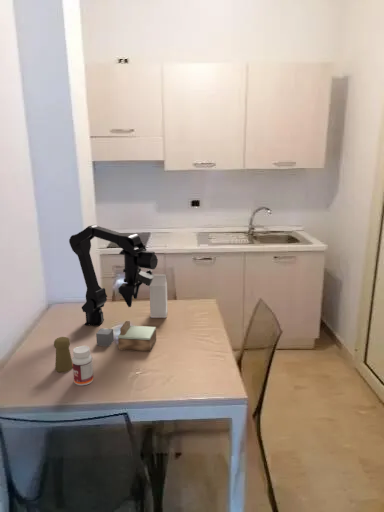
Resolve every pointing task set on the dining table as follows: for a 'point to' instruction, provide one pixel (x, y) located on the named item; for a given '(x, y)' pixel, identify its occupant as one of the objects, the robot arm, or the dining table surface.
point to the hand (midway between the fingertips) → (132, 302)
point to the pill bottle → (82, 365)
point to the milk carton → (158, 297)
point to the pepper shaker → (63, 355)
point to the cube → (104, 337)
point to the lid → (136, 332)
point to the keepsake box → (137, 344)
